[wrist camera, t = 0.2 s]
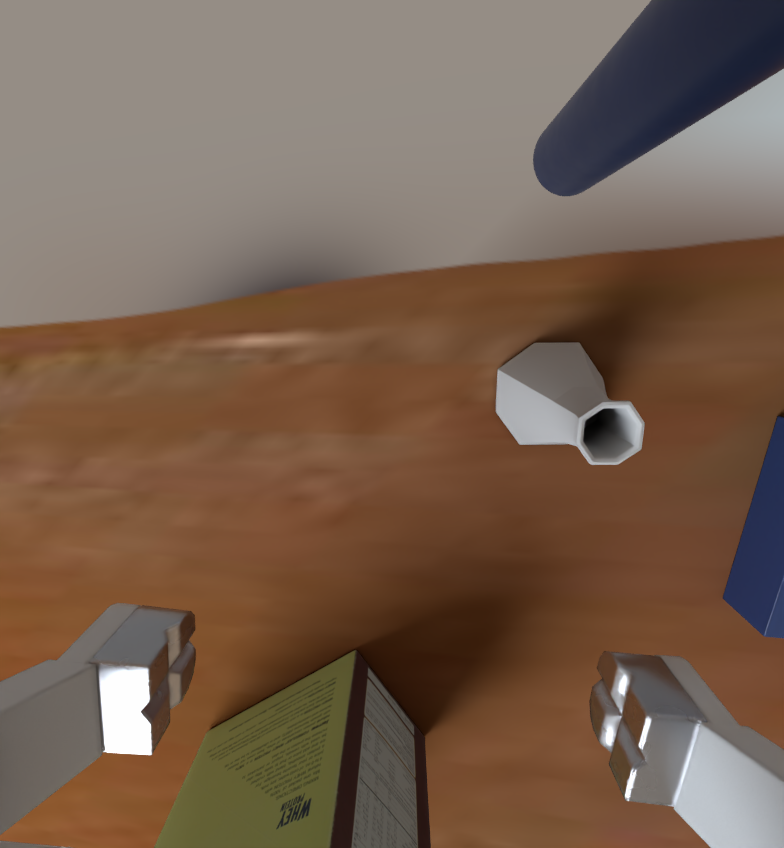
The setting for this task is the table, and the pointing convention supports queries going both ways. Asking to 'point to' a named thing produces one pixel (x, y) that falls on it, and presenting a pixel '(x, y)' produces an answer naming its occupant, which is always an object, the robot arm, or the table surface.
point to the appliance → (763, 548)
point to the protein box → (309, 771)
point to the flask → (566, 404)
